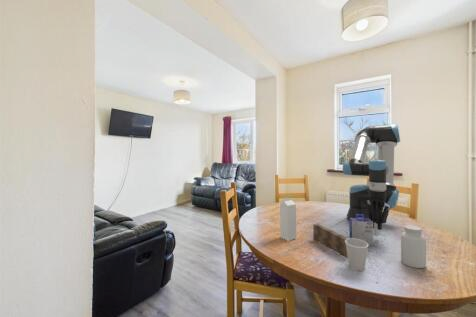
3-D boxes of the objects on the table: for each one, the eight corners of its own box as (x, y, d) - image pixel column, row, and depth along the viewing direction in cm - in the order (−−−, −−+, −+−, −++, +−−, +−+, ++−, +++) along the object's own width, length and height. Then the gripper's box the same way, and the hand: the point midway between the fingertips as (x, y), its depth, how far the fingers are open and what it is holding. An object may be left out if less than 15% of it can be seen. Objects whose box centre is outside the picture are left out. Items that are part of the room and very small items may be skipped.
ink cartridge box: (369, 241, 109) (369, 213, 109) (374, 246, 104) (374, 217, 103) (348, 240, 111) (348, 212, 111) (351, 245, 106) (351, 216, 105)
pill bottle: (396, 259, 91) (396, 224, 91) (413, 258, 92) (413, 223, 92) (412, 269, 84) (413, 231, 83) (431, 268, 84) (432, 230, 84)
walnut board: (313, 239, 114) (313, 224, 114) (317, 238, 115) (317, 223, 114) (347, 258, 93) (346, 240, 93) (351, 257, 94) (351, 239, 94)
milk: (296, 239, 115) (296, 198, 114) (287, 241, 112) (287, 199, 111) (288, 235, 120) (288, 196, 119) (280, 237, 117) (279, 197, 116)
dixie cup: (359, 260, 91) (358, 237, 91) (373, 271, 83) (373, 246, 82) (340, 262, 90) (340, 238, 90) (353, 273, 82) (353, 247, 81)
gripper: (360, 188, 115) (360, 231, 116) (384, 192, 103) (384, 241, 104) (371, 187, 118) (371, 229, 119) (395, 191, 105) (395, 238, 106)
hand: (377, 235), depth 111 cm, fingers closed
